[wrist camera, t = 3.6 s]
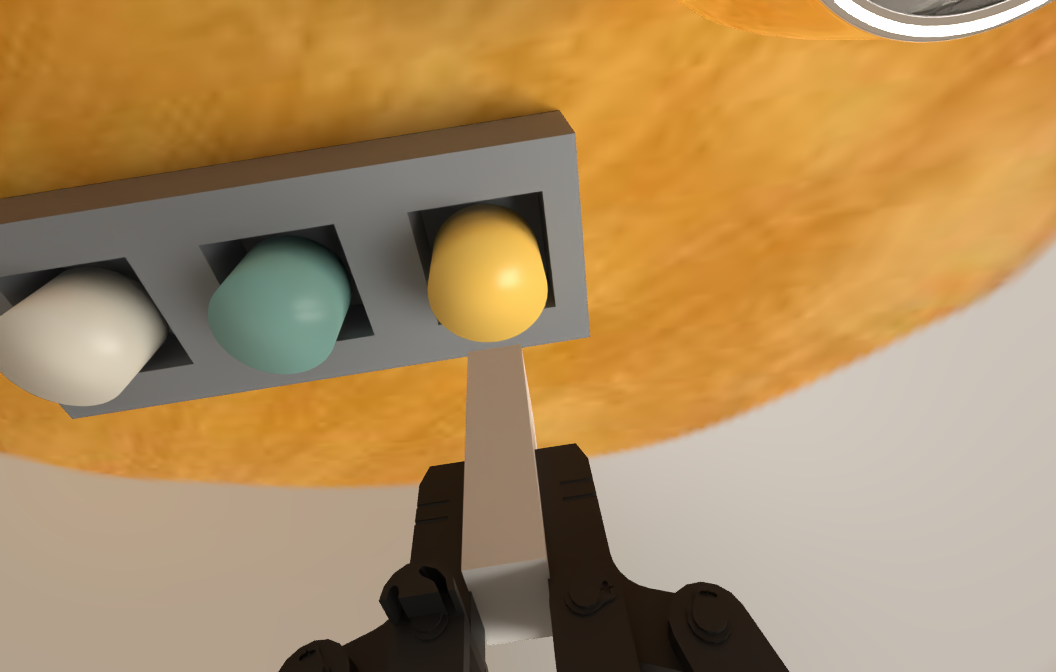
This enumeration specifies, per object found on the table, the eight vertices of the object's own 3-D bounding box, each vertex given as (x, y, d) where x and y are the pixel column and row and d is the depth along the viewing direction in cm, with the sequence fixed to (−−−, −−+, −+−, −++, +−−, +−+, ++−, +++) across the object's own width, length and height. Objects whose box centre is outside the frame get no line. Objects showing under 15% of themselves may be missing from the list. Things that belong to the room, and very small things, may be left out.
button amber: (446, 306, 23) (442, 350, 20) (421, 213, 20) (413, 248, 18) (543, 291, 23) (553, 332, 20) (531, 195, 20) (540, 228, 18)
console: (121, 365, 27) (72, 418, 23) (-3, 199, 22) (-88, 238, 18) (575, 293, 27) (590, 336, 23) (559, 110, 22) (575, 133, 18)
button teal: (268, 334, 23) (240, 382, 20) (222, 244, 20) (183, 285, 18) (366, 319, 23) (351, 364, 20) (331, 227, 20) (309, 264, 18)
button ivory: (91, 362, 23) (39, 414, 20) (22, 276, 20) (-47, 321, 18) (188, 347, 23) (150, 396, 20) (132, 259, 20) (79, 301, 18)
